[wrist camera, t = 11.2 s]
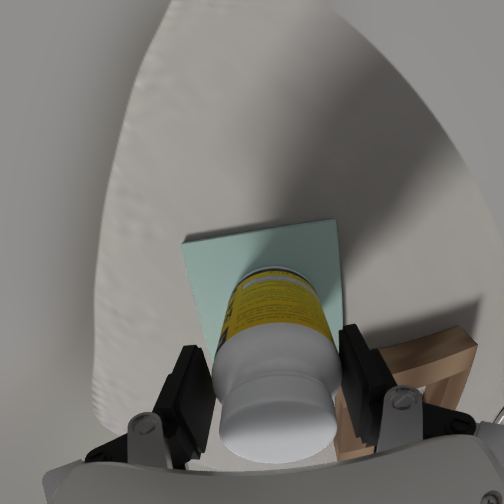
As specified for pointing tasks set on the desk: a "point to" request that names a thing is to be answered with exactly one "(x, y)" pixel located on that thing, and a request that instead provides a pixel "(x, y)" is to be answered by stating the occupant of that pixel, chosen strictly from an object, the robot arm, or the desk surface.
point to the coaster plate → (258, 256)
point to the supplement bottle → (276, 369)
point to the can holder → (416, 379)
